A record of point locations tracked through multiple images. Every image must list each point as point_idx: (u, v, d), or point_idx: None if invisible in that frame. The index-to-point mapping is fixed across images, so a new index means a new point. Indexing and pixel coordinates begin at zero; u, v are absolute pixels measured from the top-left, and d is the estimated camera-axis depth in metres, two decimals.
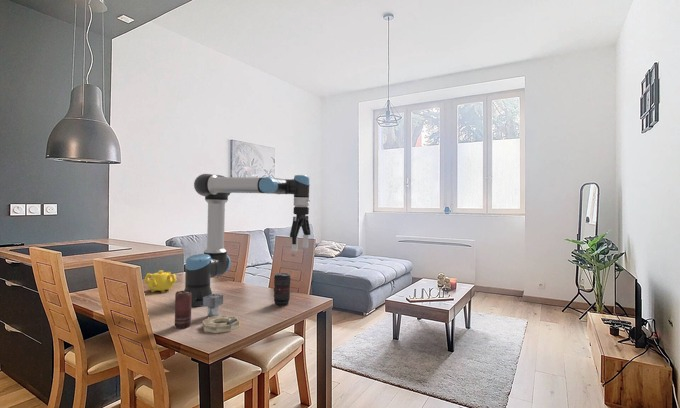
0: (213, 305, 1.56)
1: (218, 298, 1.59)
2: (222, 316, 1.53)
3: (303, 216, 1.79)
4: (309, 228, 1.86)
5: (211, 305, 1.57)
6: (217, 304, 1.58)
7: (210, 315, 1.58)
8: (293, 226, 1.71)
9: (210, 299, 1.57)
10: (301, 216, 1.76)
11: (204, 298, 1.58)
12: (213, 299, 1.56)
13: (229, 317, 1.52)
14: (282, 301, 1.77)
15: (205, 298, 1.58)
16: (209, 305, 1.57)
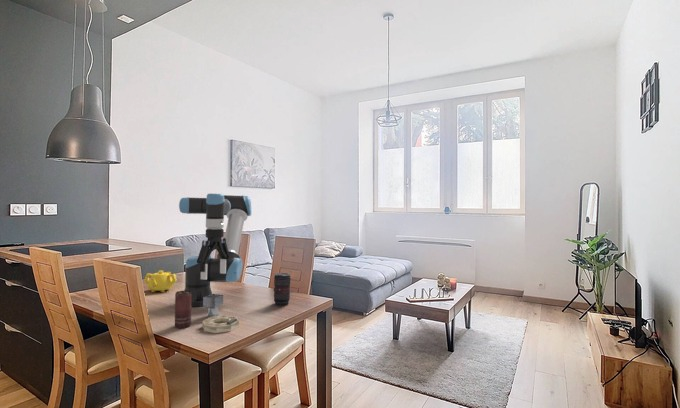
0: (213, 305, 1.56)
1: (218, 298, 1.59)
2: (222, 316, 1.53)
3: (217, 239, 1.60)
4: (228, 251, 1.68)
5: (211, 305, 1.57)
6: (217, 304, 1.58)
7: (210, 315, 1.58)
8: (201, 251, 1.52)
9: (210, 299, 1.57)
10: (213, 239, 1.57)
11: (204, 298, 1.58)
12: (213, 299, 1.56)
13: (229, 317, 1.52)
14: (282, 301, 1.77)
15: (205, 298, 1.58)
16: (209, 305, 1.57)
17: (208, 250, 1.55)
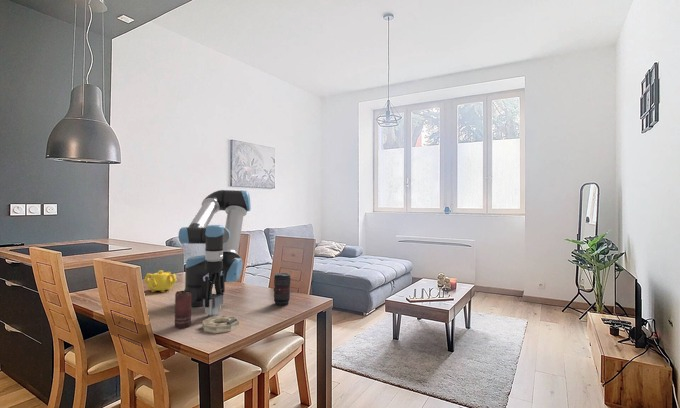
0: (213, 305, 1.56)
1: (218, 298, 1.59)
2: (222, 316, 1.53)
3: (216, 271, 1.60)
4: (224, 286, 1.65)
5: None
6: (217, 304, 1.58)
7: (210, 315, 1.58)
8: (203, 288, 1.54)
9: None
10: (213, 271, 1.58)
11: None
12: (213, 299, 1.56)
13: (229, 317, 1.52)
14: (282, 301, 1.77)
15: None
16: None
17: (209, 284, 1.57)
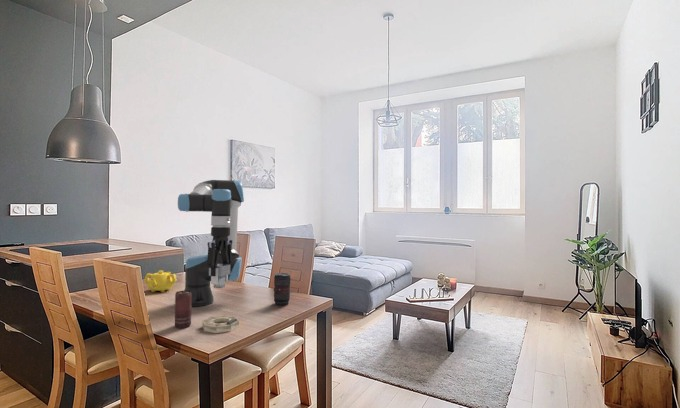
0: (220, 274, 1.45)
1: (225, 267, 1.48)
2: (222, 316, 1.53)
3: (223, 238, 1.49)
4: (231, 256, 1.55)
5: None
6: (224, 273, 1.47)
7: (216, 285, 1.47)
8: (209, 255, 1.43)
9: None
10: (219, 238, 1.47)
11: None
12: (220, 267, 1.45)
13: (229, 317, 1.52)
14: (282, 301, 1.77)
15: None
16: None
17: (216, 252, 1.46)
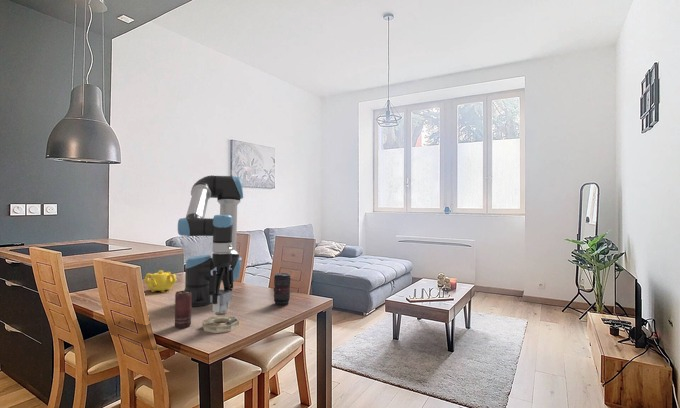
0: (221, 302, 1.44)
1: (227, 294, 1.46)
2: (222, 316, 1.53)
3: (225, 264, 1.47)
4: (232, 282, 1.53)
5: None
6: (226, 300, 1.45)
7: (218, 312, 1.45)
8: (211, 283, 1.41)
9: None
10: (221, 265, 1.45)
11: None
12: (221, 295, 1.44)
13: (229, 317, 1.52)
14: (282, 301, 1.77)
15: None
16: None
17: (217, 279, 1.44)
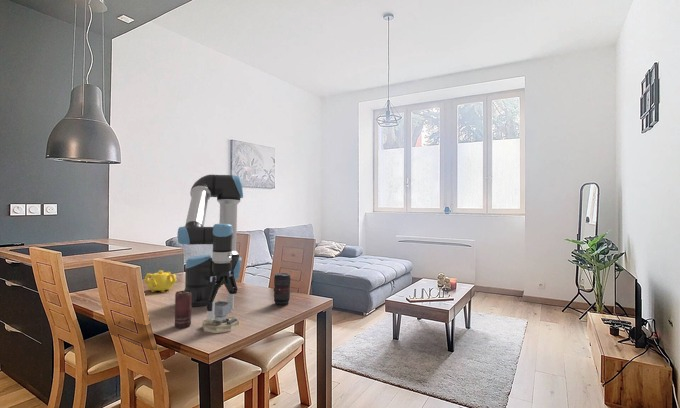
0: (221, 314, 1.44)
1: (226, 306, 1.46)
2: None
3: (224, 273, 1.47)
4: (235, 285, 1.55)
5: (219, 314, 1.44)
6: (225, 313, 1.45)
7: None
8: (208, 289, 1.39)
9: (217, 307, 1.44)
10: (221, 274, 1.45)
11: None
12: (221, 307, 1.44)
13: (229, 317, 1.52)
14: (282, 301, 1.77)
15: None
16: (216, 314, 1.44)
17: (215, 286, 1.43)
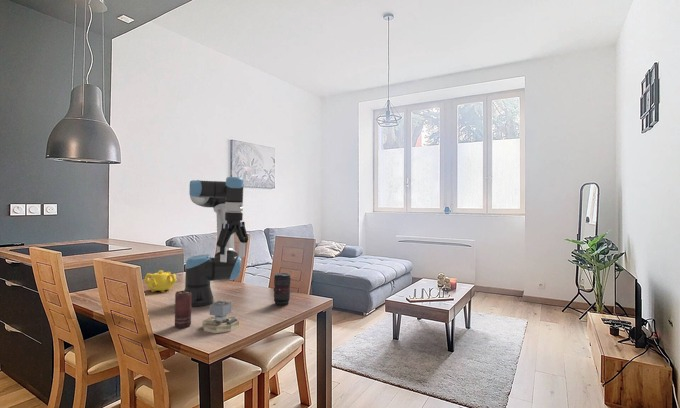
0: (221, 314, 1.44)
1: (226, 306, 1.46)
2: None
3: (236, 222, 1.61)
4: (246, 235, 1.69)
5: (219, 314, 1.44)
6: (225, 313, 1.45)
7: None
8: (221, 234, 1.53)
9: (217, 307, 1.44)
10: (233, 223, 1.58)
11: (211, 306, 1.45)
12: (221, 307, 1.44)
13: (229, 317, 1.52)
14: (282, 301, 1.77)
15: (212, 306, 1.45)
16: (216, 314, 1.44)
17: (227, 233, 1.57)
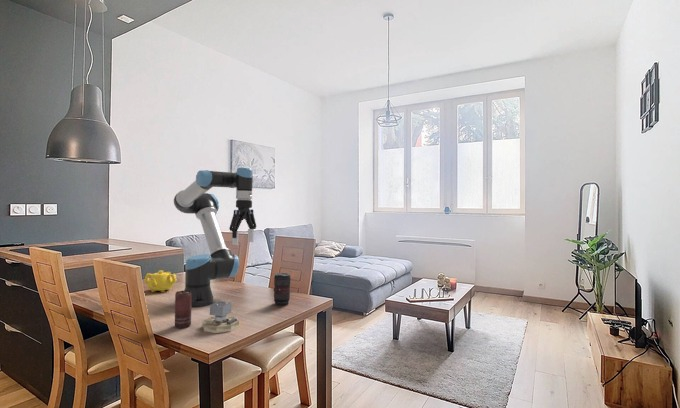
0: (221, 314, 1.44)
1: (226, 306, 1.46)
2: None
3: (246, 209, 1.75)
4: (255, 222, 1.83)
5: (219, 314, 1.44)
6: (225, 313, 1.45)
7: None
8: (233, 219, 1.67)
9: (217, 307, 1.44)
10: (243, 209, 1.72)
11: (211, 306, 1.45)
12: (221, 307, 1.44)
13: (229, 317, 1.52)
14: (282, 301, 1.77)
15: (212, 306, 1.45)
16: (216, 314, 1.44)
17: (239, 219, 1.70)
